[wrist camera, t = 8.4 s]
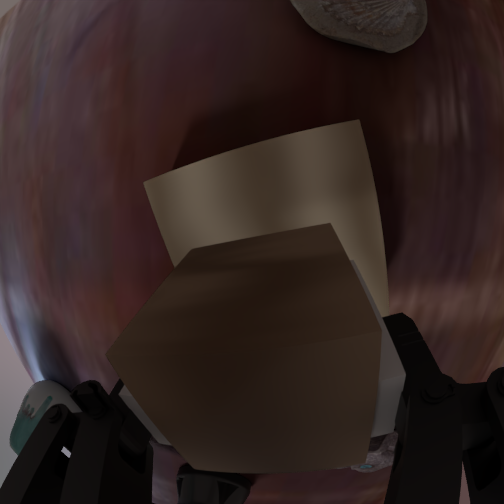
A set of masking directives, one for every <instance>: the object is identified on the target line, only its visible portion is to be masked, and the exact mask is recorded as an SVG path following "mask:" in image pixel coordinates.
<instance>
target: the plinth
mask: <svg viewBox="0 0 504 504" xmlns="http://www.w3.org/2000/svg"><path fill="white" fill-rule="evenodd" d="M143 183H144V186H145V189H146V192H147V195H148V198H149V201H150V204H151V207H152V210H153V212H154V215H155V218H156V221H157V223H158V226H159V229H160V232H161V234H162V237H163V239H164V242H165V245H166V247H167V250H168V252H169V255H170V257H171V260H172V262H173V265H174V267H176V266H177V265H178V264H179V263H180V261H181V260H182V259H183V258H184V257H185V256H186V254H187V253H188V252H189V251H190V250H191V249H193V248H198V247H203V246H208V245H214V244H219V243H224V242H229V241H234V240H239V239H245V238H250V237H255V236H260V235H266V234H271V233H276V232H282V231H287V230H293V229H298V228H304V227H309V226H315V225H320V224H326V223H331V225H332V227H333V229H334V230H335V232H336V234H337V236H338V238H339V240H340V242H341V244H342V246H343V248H344V250H345V252H346V254H347V256H348V258H349V260H354V262H355V263H356V265H357V267H358V269H359V271H360V273H361V275H362V277H363V279H364V281H365V283H366V285H367V287H368V289H369V291H370V293H371V295H372V297H373V300H374V302H375V304H376V306H377V308H378V310H379V312H380V315H381V317H385V316H389V297H388V281H387V268H386V258H385V249H384V240H383V232H382V225H381V218H380V212H379V206H378V200H377V194H376V189H375V183H374V178H373V174H372V169H371V164H370V160H369V155H368V151H367V147H366V143H365V139H364V135H363V131H362V128H361V124H360V120H353V121H348V122H342V123H337V124H332V125H327V126H322V127H318V128H313V129H309V130H304V131H300V132H296V133H292V134H288V135H284V136H280V137H276V138H272V139H269V140H265V141H261V142H258V143H254V144H251V145H248V146H244V147H241V148H237V149H234V150H231V151H228V152H225V153H222V154H218V155H215V156H212V157H209V158H206V159H204V160H201V161H198V162H195V163H192V164H189V165H187V166H184V167H181V168H178V169H176V170H173V171H170V172H168V173H165V174H163V175H160V176H158V177H155V178H153V179H150V180H148V181H145V182H143Z"/></svg>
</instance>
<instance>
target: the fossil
mask: <svg viewBox="0 0 504 504" xmlns="http://www.w3.org/2000/svg"><path fill="white" fill-rule="evenodd" d="M290 1H291V3H292V4H293V6H294V7H295V8H296V9H297V11H298V12H299V13H300V15H301V16H302V17H303V19H304V20H305V21H306V22H307V24H308V25H310V26H311V27H312V28H313V29H314V30H315V31H317V32H318V33H320V34H321V35H323V36H325V37H328V38H331V39H334V40H337V41H341V42H345V43H349V44H352V45H357V46H361V47H366V48H371V49H374V50H378V51H385V52H386V53H395V52H398V51H400V50H402V49H404V48H406V47H408V46H410V45H412V44H413V43H414V42H415V41H416V40H417V39H418V38H419V37H420V36H421V35H422V33H423V32H424V30H425V27H426V24H427V5H426V2H425V0H290Z"/></svg>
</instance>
